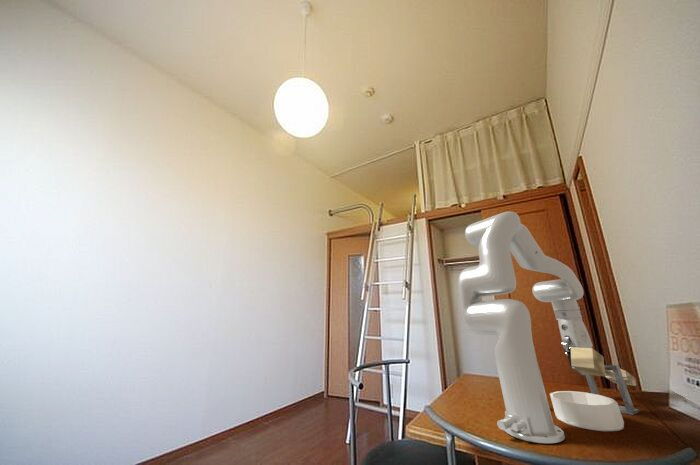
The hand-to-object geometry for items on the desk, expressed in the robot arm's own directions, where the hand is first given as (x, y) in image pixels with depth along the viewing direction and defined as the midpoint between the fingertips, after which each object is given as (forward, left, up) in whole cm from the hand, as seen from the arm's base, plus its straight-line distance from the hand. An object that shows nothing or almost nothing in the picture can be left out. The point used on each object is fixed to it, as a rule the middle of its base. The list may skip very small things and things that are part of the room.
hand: (583, 366), depth 89 cm
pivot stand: (-10, -9, -9) cm, 16 cm away
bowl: (-26, -9, -9) cm, 29 cm away
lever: (-10, -6, -2) cm, 12 cm away
